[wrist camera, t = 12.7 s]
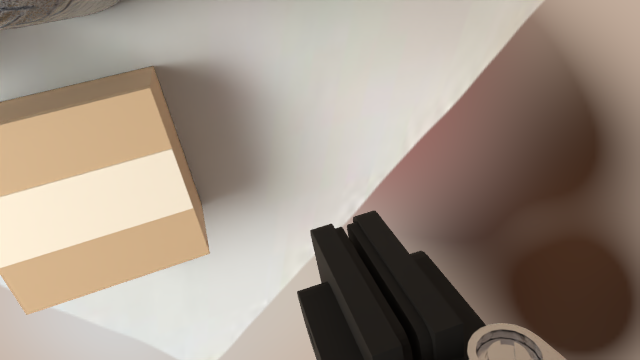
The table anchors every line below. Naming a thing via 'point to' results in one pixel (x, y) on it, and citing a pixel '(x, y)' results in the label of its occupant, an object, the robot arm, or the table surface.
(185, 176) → the box
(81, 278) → the lid
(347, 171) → the table surface
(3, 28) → the vase
